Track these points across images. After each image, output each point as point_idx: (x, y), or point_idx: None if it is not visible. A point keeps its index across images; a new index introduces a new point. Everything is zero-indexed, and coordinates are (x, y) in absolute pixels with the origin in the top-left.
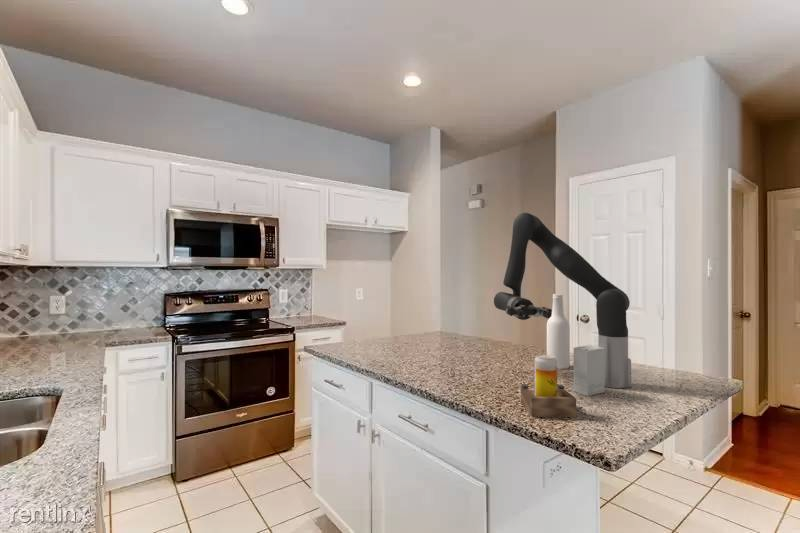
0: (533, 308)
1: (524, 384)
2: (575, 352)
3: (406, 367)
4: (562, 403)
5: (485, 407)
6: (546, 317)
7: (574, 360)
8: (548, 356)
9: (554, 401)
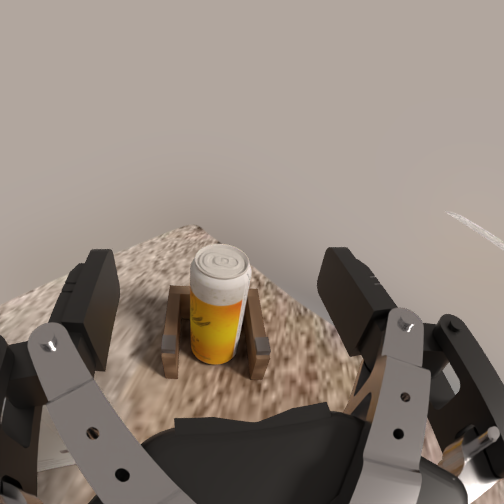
0: (172, 453)
1: (262, 348)
2: None
3: None
4: None
5: (334, 347)
6: (115, 306)
7: (49, 423)
8: (209, 269)
9: None
